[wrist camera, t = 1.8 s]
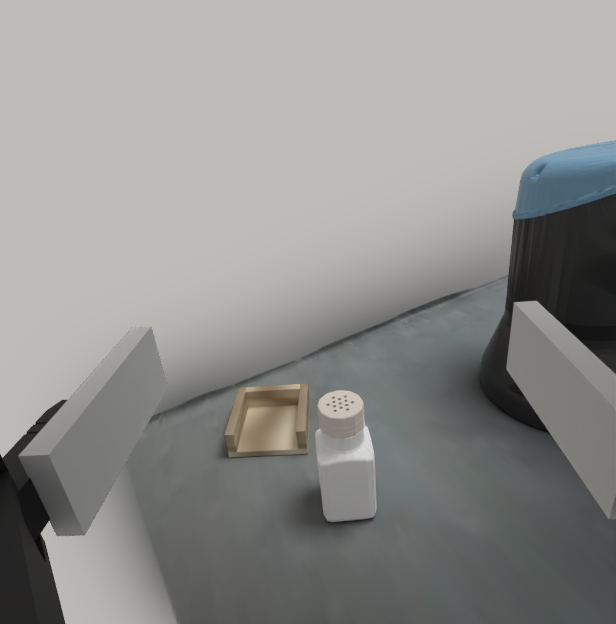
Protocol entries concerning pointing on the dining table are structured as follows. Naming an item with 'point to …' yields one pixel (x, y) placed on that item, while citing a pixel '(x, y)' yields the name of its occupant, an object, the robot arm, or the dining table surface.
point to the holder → (269, 421)
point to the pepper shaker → (345, 458)
